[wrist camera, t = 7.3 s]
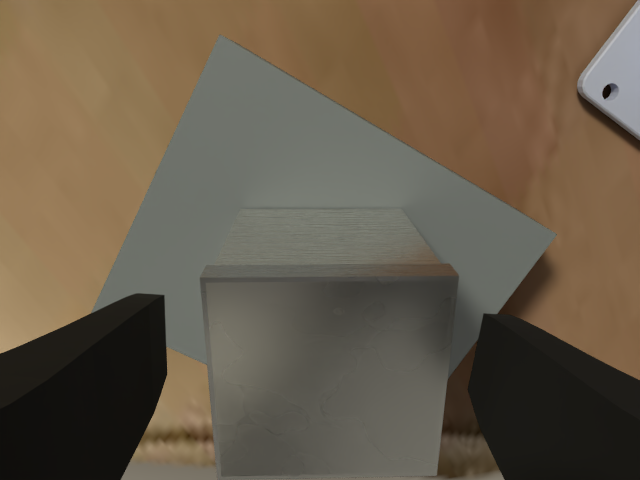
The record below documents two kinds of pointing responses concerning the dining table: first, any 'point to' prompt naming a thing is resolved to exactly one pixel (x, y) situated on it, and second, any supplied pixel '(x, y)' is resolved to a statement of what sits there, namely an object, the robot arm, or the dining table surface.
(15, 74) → the dining table surface
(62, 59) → the dining table surface
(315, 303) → the tea tin
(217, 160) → the watch box
